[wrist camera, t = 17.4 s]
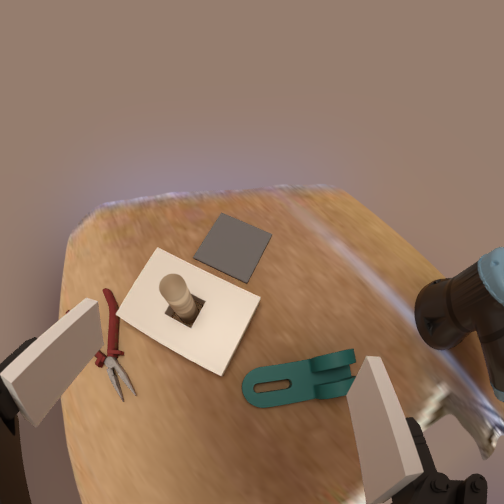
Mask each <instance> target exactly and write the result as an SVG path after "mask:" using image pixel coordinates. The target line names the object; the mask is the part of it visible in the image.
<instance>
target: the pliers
mask: <svg viewBox="0 0 504 504" xmlns="http://www.w3.org/2000/svg"><path fill="white" fill-rule="evenodd" d="M103 293H104V295H105V298H106V300H107V302H108V306H109V330H108V349H107V356H109V357H107V356H106V355H105V354H104V353H102V352H101V351H100V350H99V351H98V352H97V353H96V354H95V355H94V356H95V357H96V358H97V360H96V362H95V364H96V365H97V366H98V367H101V368H102V366H103V365H104V364H105V365H106V366H107V367H108V369H107V372H108V375H109V378H110V380H111V382H112V384H113V386H114V387H115V389H116V391H117V393H118V394H119V396H120V398H121V399H122V401H123V402H124V399H123V396H122V392H121V388H120V384H119V381H118V378H117V376H115V375H114V374H113V370H114V369H115V370H116V371H117V372H118V375H119V376H120V377H121V379H122V380H123V381H124V383H125V384H126V385H127V386H128V388H129V389H130V390H131V391H132V392H133V394H134V395H135V396H137V395H136V393H135V391H134V389H133V387H132V385H131V383H130V380H129V378H128V376H127V374H126V372H125V371H124V369H123V368H122V366H121V365H120V364H118V361H117V358H118V355H124V352H123V351H119V350H118V330H119V316H117V315H116V313H117V311H118V305H117V303H116V300H115V298H114V296H113V294H112V292H111V291H110V290H109V289H107V288H105V289H103ZM69 311H70V310H68V311H67V312H66V314H67V313H68V312H69Z"/></svg>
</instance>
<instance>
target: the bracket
mask: <svg viewBox="0 0 504 504" xmlns="http://www.w3.org/2000/svg"><path fill="white" fill-rule="evenodd" d="M352 363H356V359H355V354H354V349H348V350H344V351H339V352H335V353H331V354H326V355H322V356H318V357H314V358H311V359H307V360H302V361H297V362H291V363H285V364H279V365H272V366H265V367H259V368H256V369H254V370H252V371H250V372H249V373H248V374H247V375H246V376H245V378H244V380H243V383H242V391H243V394H244V397H245V398H246V400H247V401H248V402H249V403H250V404H252V405H254V406H256V407H261V408H266V407H273V406H279V405H285V404H290V403H296V402H301V401H306V400H310V399H329V398H335V397H340V396H344V395H347V393H348V391H349V389H350V387H351V385H352V384H353V382H354V380H355V378H356V376H351V371H350V366H349V364H352ZM283 379H287V380H289V382H290V385H289V387H288V388H286V389H280V390H274V391H267V392H260V393H256V392H254V390H253V387H254V385H255V384H257V383H263V382H270V381H276V380H283Z"/></svg>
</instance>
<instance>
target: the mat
mask: <svg viewBox="0 0 504 504" xmlns="http://www.w3.org/2000/svg"><path fill="white" fill-rule="evenodd" d="M271 236H272V234H270V233H268V232H266V231H263V230H261V229H259V228H256V227H254V226H252V225H249V224H247V223H245V222H242V221H240V220H238V219H235V218H233V217H231V216H228V215H226V214H224V213H221V214H220V216H219V217H218V219H217V220H216V222H215V224H214V225H213V227H212V228H211V230H210V231H209V233H208V234H207V236H206V238H205V239H204V241H203V242H202V244H201V246H200V247H199V249H198V250H197V252H196V254H195V255H194V257H193V258H194V259H196V260H198V261H200V262H202V263H204V264H206V265H208V266H211V267H213V268H215V269H217V270H219V271H221V272H223V273H225V274H227V275H229V276H232V277H234V278H236V279H238V280H240V281H242V282H244V283H248V281H249V279H250V277H251V275H252V273H253V271H254V269H255V267H256V265H257V263H258V261H259V260H260V258H261V256H262V254H263V252H264V250H265V248H266V246H267V244H268V242H269V240H270V238H271Z"/></svg>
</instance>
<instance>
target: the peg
mask: <svg viewBox="0 0 504 504" xmlns="http://www.w3.org/2000/svg"><path fill="white" fill-rule="evenodd" d="M159 291H160V293H161V295H162V296H163V297H164V299H165V300H166V301H167V303H168V304H169V305H170V306H171V308H172V309H173V310H174V311H175V313H176V314H177V315H178V316H179V317H180V319H181V320H182V321H183V322H185V323H188V324H190V323H194V322H195V320H196V318H197V317H198V315H199V310H198V308H197V306H196V304H195V302H194V300H193V297H192V295H191V293H190V291H189V289H188V287H187V285H186V283H185V280H184V279H183V278H182V277H181V276H180V275H178V274H168V275H166V276H164V277H163V278H162V280H161V281H160V284H159Z"/></svg>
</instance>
